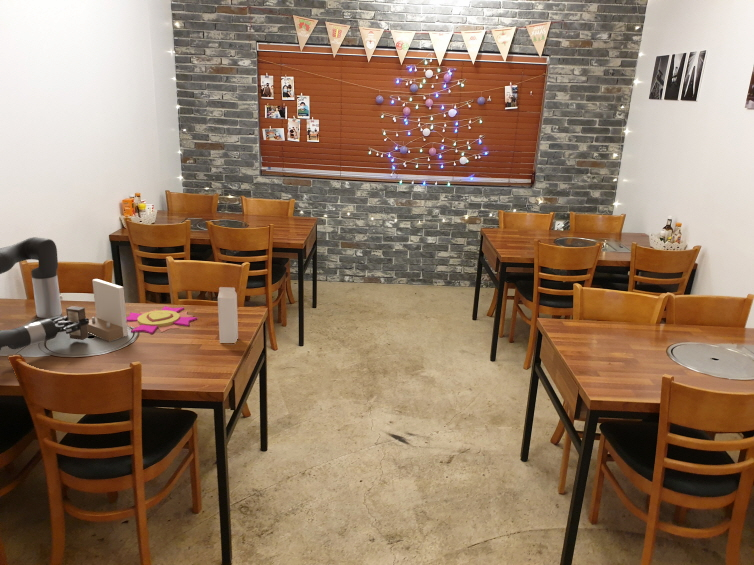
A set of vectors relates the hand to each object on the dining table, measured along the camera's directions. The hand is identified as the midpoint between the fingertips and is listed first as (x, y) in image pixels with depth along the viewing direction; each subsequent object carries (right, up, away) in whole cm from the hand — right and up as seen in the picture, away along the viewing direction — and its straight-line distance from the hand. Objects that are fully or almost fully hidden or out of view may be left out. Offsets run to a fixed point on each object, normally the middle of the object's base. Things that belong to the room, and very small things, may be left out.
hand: (82, 318), depth 221 cm
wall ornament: (+19, -3, +26) cm, 32 cm away
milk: (+54, -9, +7) cm, 55 cm away
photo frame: (-2, -7, 0) cm, 7 cm away
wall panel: (+4, -6, +10) cm, 12 cm away
